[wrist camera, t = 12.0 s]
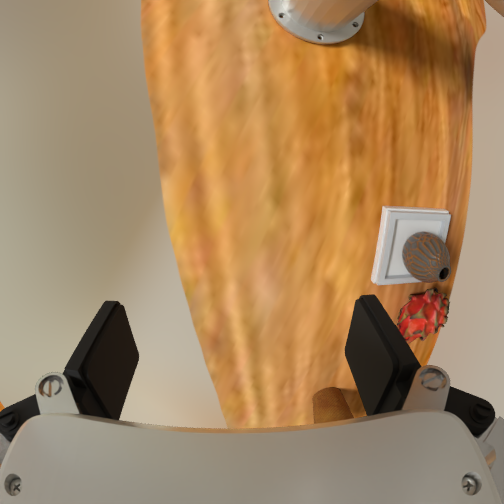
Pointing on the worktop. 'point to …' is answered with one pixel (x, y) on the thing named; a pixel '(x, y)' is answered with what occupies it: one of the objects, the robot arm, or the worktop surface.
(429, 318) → the dragon fruit
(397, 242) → the baseplate
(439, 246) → the vase
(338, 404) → the disposable coffee cup
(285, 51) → the worktop surface
